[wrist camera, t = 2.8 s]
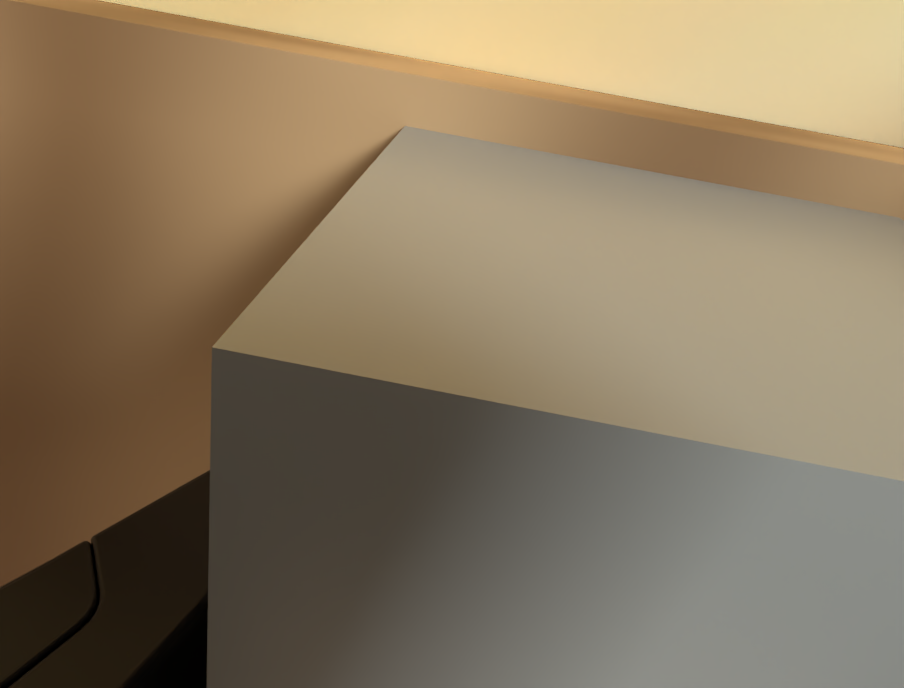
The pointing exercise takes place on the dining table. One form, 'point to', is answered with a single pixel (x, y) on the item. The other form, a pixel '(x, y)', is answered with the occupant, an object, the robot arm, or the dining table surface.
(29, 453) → the board
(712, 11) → the dining table surface
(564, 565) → the block
